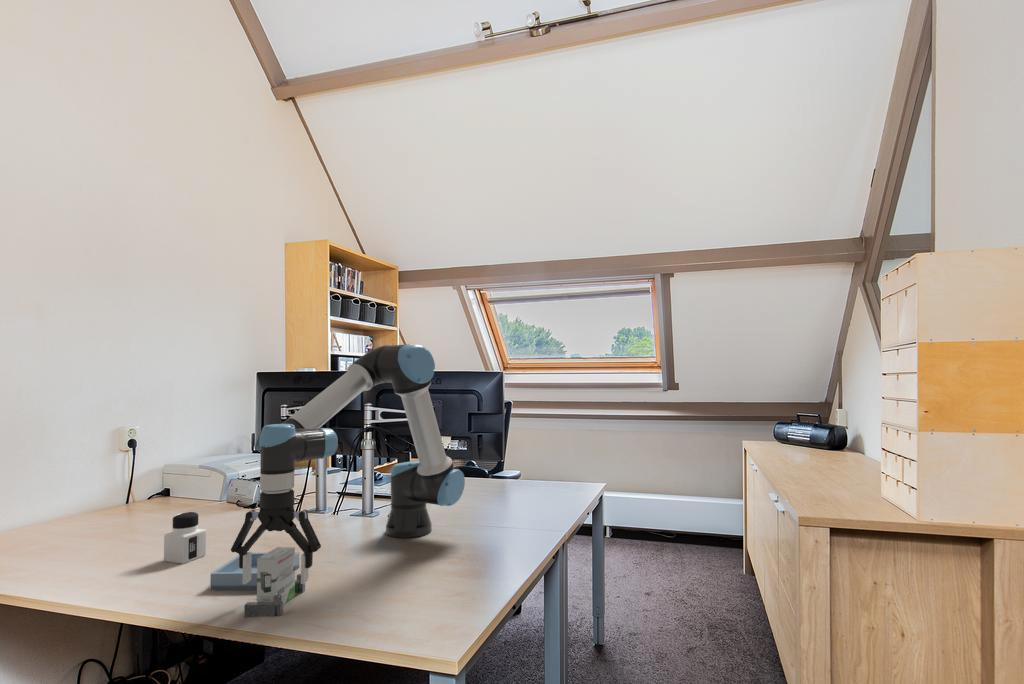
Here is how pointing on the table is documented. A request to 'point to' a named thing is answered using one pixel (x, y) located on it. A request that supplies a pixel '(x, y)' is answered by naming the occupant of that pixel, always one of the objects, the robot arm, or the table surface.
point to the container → (185, 539)
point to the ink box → (276, 575)
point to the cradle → (271, 603)
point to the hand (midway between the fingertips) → (275, 582)
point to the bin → (238, 574)
